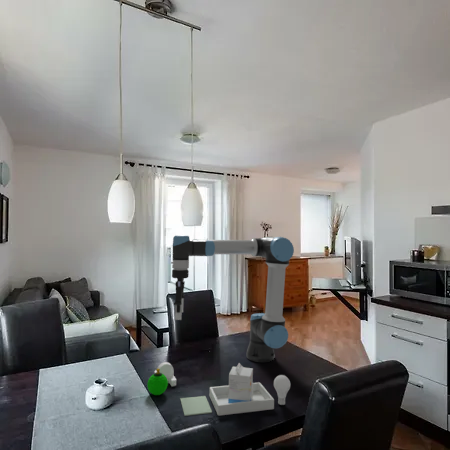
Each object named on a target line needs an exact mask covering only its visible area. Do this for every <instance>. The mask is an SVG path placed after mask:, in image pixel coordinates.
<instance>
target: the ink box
mask: <svg viewBox="0 0 450 450" xmlns="http://www.w3.org/2000/svg"><path fill="white" fill-rule="evenodd" d="M253 375H254V368H250V367H244V366H243V365H242V364H241V363H240V362H238V364H237V366H234V365H233V366H232V367H231V369H230V371H229V374H228V385H229V396H228V403H237V402H246V401H252V389H253V383H254V381H253V379H254V378H253Z"/></svg>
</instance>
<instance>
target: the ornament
mask: <svg viewBox="0 0 450 450" xmlns="http://www.w3.org/2000/svg"><path fill="white" fill-rule="evenodd" d="M157 368H158V367H157ZM157 368H156V369H155V370H157V372H156V373H155V374H151V376H150V377H149V378H148V380H147V387H146V388H147V389H148V392H149V393H151V394H152V395H154V396H160V395H163V393H165V392H166V390H167V388H168V386H169V383H168V381H167V378H166V376H165V375H164V374H162V373H160V372H159V371H160V369H159V368H158V369H157Z"/></svg>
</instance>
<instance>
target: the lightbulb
mask: <svg viewBox="0 0 450 450" xmlns="http://www.w3.org/2000/svg"><path fill="white" fill-rule="evenodd" d="M273 387H274V389H275V391H276V393H277V398H278V399H277V400H278V401H277V403H278V405H280V406H284V405H286V397H287V394H288V392H289V391H290V389H291V381H290V379H289V378H288V377H287V376H286V375H285V374H279V375H277V376H276V377H274V380H273Z"/></svg>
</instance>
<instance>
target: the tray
mask: <svg viewBox="0 0 450 450" xmlns="http://www.w3.org/2000/svg"><path fill="white" fill-rule="evenodd" d="M208 395H209V398H210V401H211V403H212V406H213V407H214V410H215V411H216V412H215V413H216V414H217V416H225V415H226V416H227V415H228V416H229V415H233V414H243V413H244V414H245V413H252V412H253V413H254V412H260V411H267V410H268V411H269V410H274V409H275V399H274V397H273V396H272V395H271V394H270V392H269V391H268V390H267V389H266V388H265V386H264V385H263V384H262V383H261V382H259V381H258V382H253V389H252V401H246V402H237V403H228V396H229V384H228V385H220V386H219V385H218V386H210V387H209V394H208Z"/></svg>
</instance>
